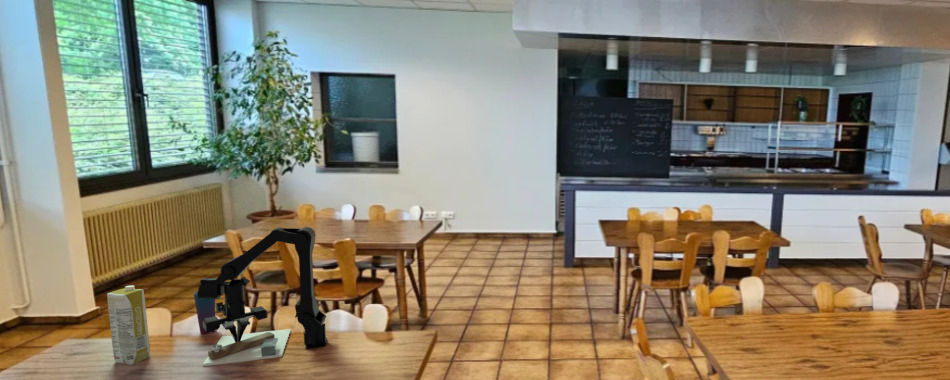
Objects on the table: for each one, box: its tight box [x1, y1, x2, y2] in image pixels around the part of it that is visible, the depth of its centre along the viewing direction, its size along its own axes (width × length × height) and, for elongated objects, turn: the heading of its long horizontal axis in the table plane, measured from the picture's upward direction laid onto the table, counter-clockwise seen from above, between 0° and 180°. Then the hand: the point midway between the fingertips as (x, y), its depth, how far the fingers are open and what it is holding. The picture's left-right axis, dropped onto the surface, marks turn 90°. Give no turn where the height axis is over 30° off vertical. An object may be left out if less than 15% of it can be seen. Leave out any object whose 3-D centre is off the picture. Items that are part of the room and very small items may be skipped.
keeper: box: [261, 338, 278, 357], centre depth 160 cm, size 4×6×3 cm, turn 13°
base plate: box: [202, 328, 292, 367], centre depth 166 cm, size 23×22×4 cm
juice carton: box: [106, 285, 151, 366], centre depth 158 cm, size 9×8×24 cm
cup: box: [193, 290, 216, 335], centre depth 180 cm, size 7×7×15 cm
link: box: [207, 331, 275, 360], centre depth 163 cm, size 20×4×2 cm, turn 138°
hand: (237, 343), depth 164 cm, fingers closed
